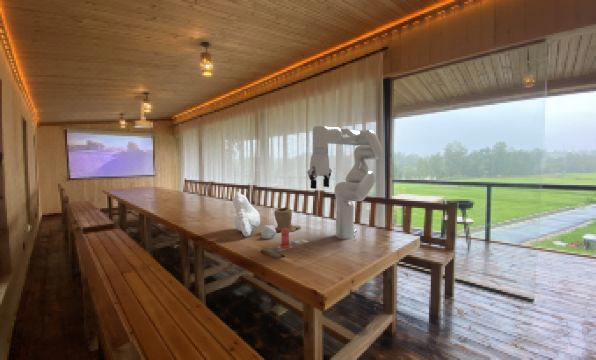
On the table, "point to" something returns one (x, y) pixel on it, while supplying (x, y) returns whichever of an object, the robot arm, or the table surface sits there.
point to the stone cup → (284, 219)
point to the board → (274, 251)
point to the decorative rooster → (245, 215)
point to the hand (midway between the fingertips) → (320, 187)
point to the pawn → (285, 238)
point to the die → (268, 232)
